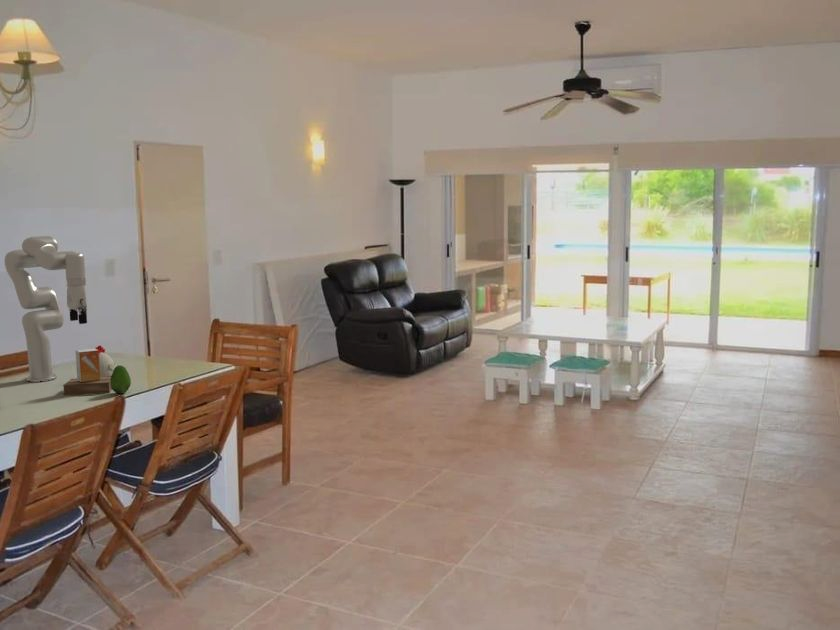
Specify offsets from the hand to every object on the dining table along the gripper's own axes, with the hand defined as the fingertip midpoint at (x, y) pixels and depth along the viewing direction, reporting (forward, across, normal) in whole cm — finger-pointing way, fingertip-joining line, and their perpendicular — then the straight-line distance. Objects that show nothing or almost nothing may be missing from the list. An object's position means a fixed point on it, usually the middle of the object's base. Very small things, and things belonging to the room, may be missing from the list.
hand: (78, 322), depth 339 cm
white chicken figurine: (+30, -14, +14) cm, 36 cm away
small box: (+24, +7, 0) cm, 26 cm away
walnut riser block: (+29, +8, 0) cm, 30 cm away
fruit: (+28, +22, +8) cm, 37 cm away
